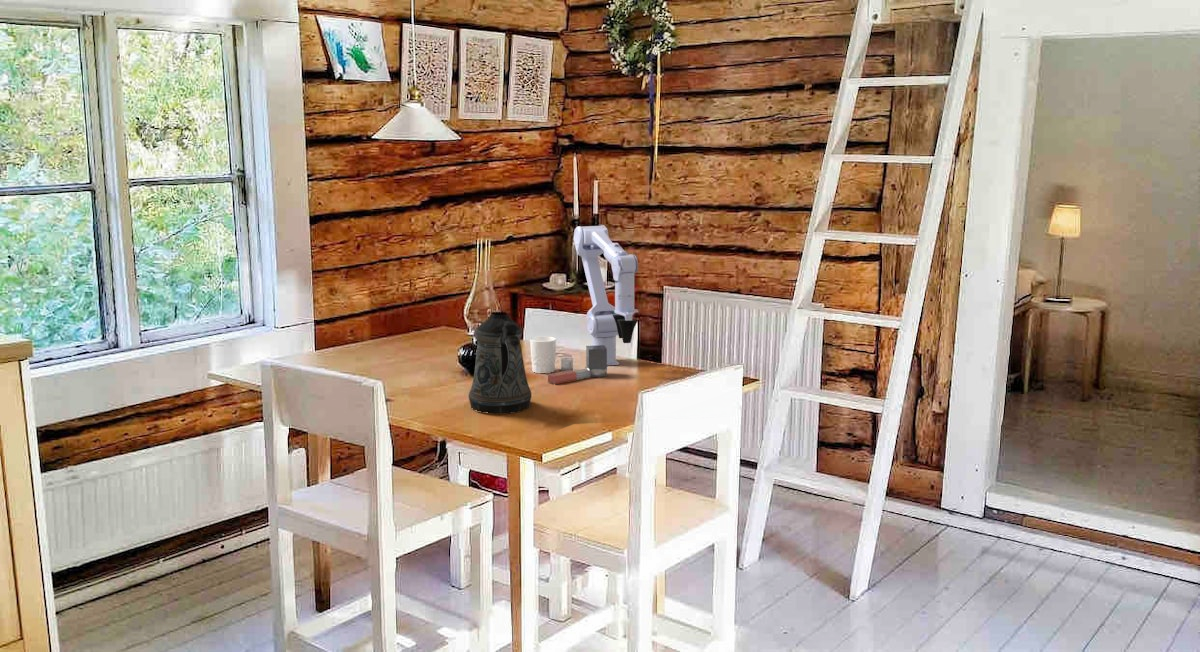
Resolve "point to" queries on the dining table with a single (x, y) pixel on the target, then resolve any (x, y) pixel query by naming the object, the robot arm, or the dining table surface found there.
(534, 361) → the white cup
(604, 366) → the brushed steel cube
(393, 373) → the dining table surface
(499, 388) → the beer stein
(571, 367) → the socket
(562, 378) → the ratchet
